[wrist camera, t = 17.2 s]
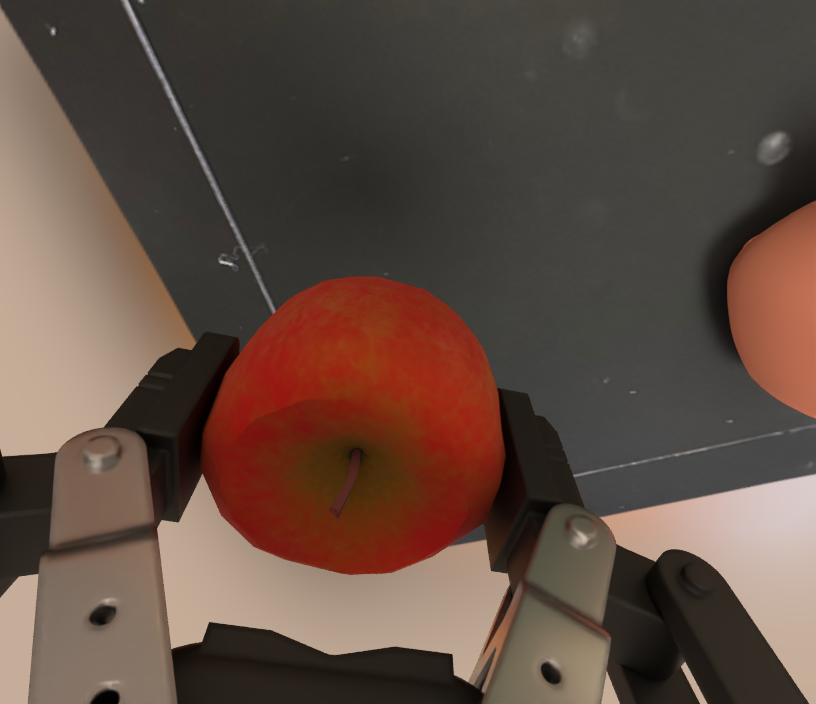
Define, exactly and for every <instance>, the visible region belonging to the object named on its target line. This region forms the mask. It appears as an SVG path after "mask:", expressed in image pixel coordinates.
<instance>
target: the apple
mask: <svg viewBox="0 0 816 704" xmlns="http://www.w3.org/2000/svg"><path fill="white" fill-rule="evenodd" d="M505 458H506V453H505V447H504V441H503V435H502V429H501V418H500V406H499V394H498V391H497V387H496V384H495V381H494V377H493V374H492V371H491V368H490V365H489V362H488V360H487V357H486V354H485V352H484V349H483V347H482V346H481V344H480V343H479V341H478V340H477V338H476V337H475V335H474V334H473V332H472V331H471V330H470V329H469V328H468V326H467V325H466V324H465V323H464V322H463V321H462V319H461V318H460V317H459V316H458V315H457V314H456V313H455V312H454V311H453V310H452V309H451V308H450V307H449V306H448V305H446V304H445V303H444V302H442V301H441V300H439V299H438V298H436V297H435V296H433V295H432V294H430V293H429V292H427V291H426V290H424V289H421V288H417V287H414V286H410V285H407V284H403V283H400V282H396V281H392V280H388V279H385V278H381V277H345V278H339V279H333V280H327V281H323V282H321V283H319V284H317V285H315V286H312V287H310V288H308V289H306V290H304V291H302V292H300V293H298V294H296V295H295V296H293V297H292V298H291V299H289V300H288V301H287V302H285V303H284V304H283V305H282V306H281V307H280V308H279V309H278V310H277V311H276V312H275V313H274V314H273V315H272V316H271V317H270V318H269V319H268V320H267V321H266V322H265V323H264V324H263V325H262V326H261V327H260V328H259V329H258V331H257V332H256V333H255V334H254V335H253V337H252V338H251V339H250V341H249V342H248V343H247V345H246V346H245V347H244V349H243V350H242V351H241V353H240V354H239V355H238V357H237V358H236V359H235V361H234V362H233V363H232V365H231V366H230V367H229V369H228V370H227V371H226V373H225V375H224V377H223V380H222V382H221V385H220V387H219V390H218V392H217V395H216V397H215V400H214V402H213V404H212V407H211V409H210V412H209V414H208V417H207V419H206V422H205V424H204V427H203V429H202V443H201V457H200V468H201V471H202V473H203V475H204V477H205V480H206V482H207V484H208V486H209V489H210V491H211V493H212V496H213V498H214V500H215V503H216V505H217V507H218V509H219V512H220V514H221V516H222V517H224V518H225V520H227V521H228V522H229V523H230V524H231V525H232V526H233V527H234V528H235V529H236V530H237V531H238V532H239V533H240V534H241V535H242V536H243V537H244V538H245V539H246V540H247V541H248V542H249V543H250V544H252V545H253V546H254V547H256V548H258V549H260V550H263V551H265V552H268V553H270V554H273V555H275V556H278V557H280V558H283V559H285V560H289V561H292V562H296V563H301V564H305V565H309V566H313V567H317V568H321V569H325V570H329V571H333V572H338V573H342V574H349V575H354V574H372V573H373V574H382V573H392V572H395V571H397V570H400V569H402V568H405V567H407V566H410V565H412V564H415V563H417V562H420V561H422V560H425V559H427V558H430V557H432V556H434V555H436V554H437V553H439V552H440V551H441V550H443V549H445V548H446V547H448V546H449V545H451V544H452V543H454V542H455V541H457V540H458V539H460V538H462V537H463V536H465V535H466V534H468V533H469V532H471V531H472V530H474V529H475V528H477V527H478V526H480V525H481V524H483V523H484V522H485V521H486V519H487V516H488V514H489V512H490V509H491V507H492V504H493V502H494V499H495V497H496V494H497V492H498V489H499V487H500V484H501V479H502V474H503V469H504V464H505Z"/></svg>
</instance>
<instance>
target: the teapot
mask: <svg viewBox="0 0 816 704" xmlns="http://www.w3.org/2000/svg"><path fill="white" fill-rule="evenodd" d="M727 303H728V313H729V321H730V327H731V332H732V336H733V339H734V342H735V345H736V348H737V351H738V353H739V355H740V358H741V360H742V362H743V364H744V366H745V368H746V370H747V371H748V373H749V375H750V377H751V378H752V379H753V380H754V381H755V382H756V383H757V384H759V385H760V386H761V387H762V388H763V389H764V390H765V391H767V392H768V393H769V394H771V395H772V396H773V397H775V398H776V399H778V400H780V401H781V402H783V403H784V404H786V405H788V406H790V407H792V408H794V409H796V410H798V411H800V412H802V413H804V414H806V415H808V416H810V417H813V418H815V419H816V201H813V202H811V203H809V204H807V205H805V206H804V207H802V208H800V209H798V210H796V211H795V212H793V213H791V214H790V215H788V216H786V217H785V218H783V219H782V220H780V221H778V222H777V223H775V224H774V225H772V226H771V227H769V228H768V229H766V230H765V231H763V232H762V233H761V234H759V235H757V236H755V237H753V238H752V239H751V240H749V241H748V242H747V243H746V244H745V246H744V247H743V249H742V250H741V251H740V252H739V254H738V255H737V257H736V258H735V259H734V261H733V263H732V265H731V267H730V271H729V276H728V281H727Z"/></svg>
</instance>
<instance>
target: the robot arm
mask: <svg viewBox="0 0 816 704" xmlns="http://www.w3.org/2000/svg"><path fill="white" fill-rule="evenodd" d="M239 346H240V344H239V339H238V338H237V337H232V336H227V335H221V334H216V333H211V332H205V333H204V334H203V335H202V336H201V338H200V339H199V341H198V342H197V343H196V345H195V346H194V348H193V349H192V350H187V349H181V348H177V349H175V350H173V351H171V352H169V353H168V354H166V355H164V356H162V357H160V358H159V359H158V360H157V361H156V363H155V364H154V365H153V367H152V368H151V369H150V370H149V372H148V375H145V376H144V378H143V379H142V380H141V381H140V383H139V386H138V387H136V388H135V389H134V390H133V392H132V393H131V394H130V395H129V396H128V398H127V399H126V400H125V401H124V403H123V404H122V405H121V406H120V408H119V409H118V410H117V411H116V413H115V414H114V415H113V416H112V418H111V419H110V420H109V421H108V423H107V424H106V425H105V427H104V428H98V429H93V430H89V431H86V432H83V433H81V434H79V435H77V436H75V437H73V438H71V439H70V440H68V441H67V442H66V443H65V444H64V445H63V446H62V447H61V448H60V449H59V451H58V452H55V453H48V454H36V455H19V456H4V457H2V454H1V450H0V597H1V596H2V595H3V594H4V593H5V592H6V590H7V589H8V588H9V587H10V586H11V585H12V583H13V582H14V581H15V580H16V579H17V578H18V577H19V576H26V575H33V574H39V576H38V588H37V600H36V612H35V624H34V636H33V648H32V661H31V672H30V684H29V696H28V704H601V701H602V694H603V689H604V683H605V677H606V671H607V672H608V675H609V677H610V680H611V682H612V685H613V687H614V690H615V692H616V695H617V697H618V700H619V702H620V704H700V703H699V701H698V699H697V697H696V695H695V693H694V692H693V689H692V688H691V686H690V684H689V682H688V680H687V678H686V676H685V674H684V672H683V670H682V668H681V666H682V664H683V663H684V662H686V664H687V666H688V668H689V669H690V671H691V673H692V675H693V677H694V679H695V681H696V683H697V685H698V686H699V688H700V690H701V692H702V694H703V696H704V698H705V700H706V701H707V703H708V704H809V703H808V701H807V700H806V698H805V697H804V695H803V694H802V693H801V691H800V690H799V688H798V687H797V685H796V684H795V683H794V681H793V679H792V678H791V676H790V675H789V673H788V672H787V670H786V669H785V668H784V666H783V664H782V663H781V662H780V660H779V659H778V657H777V656H776V654H775V653H774V651H773V650H772V648H771V647H770V645H769V644H768V642H767V641H766V640H765V638H764V637H763V635H762V634H761V632H760V631H759V629H758V628H757V626H756V625H755V623H754V622H753V620H752V619H751V617H750V616H749V614H748V613H747V611H746V610H745V608H744V607H743V605H742V604H741V603H740V601H739V600H738V598H737V597H736V595H735V594H734V592H733V591H732V590H731V588H730V586H729V585H728V583H727V582H726V581H725V579H724V578H723V577H722V576H721V575H720V573H719V572H718V571H716V569H714V568H713V567H712V566H711V565H710V564H708V563H707V562H706V561H704V560H703V559H701V558H700V557H697V556H696V555H694V554H691V553H689V552H686V551H683V550H677V549H671V550H667V551H665V552H663V553H662V555H661V556H660V557H659V558H658V560H657V561H656V562H655V561H653V560H650V559H648V558H646V557H643V556H641V555H638V554H637V553H634V552H632V551H629V550H627V549H625V548H623V547H621V546H619V545H617V544H616V540H615V538H614V535H613V533H612V531H611V530H610V528H609V527H608V526H607V525H606V524H605V522H604V521H603V520H602V519H601V518H599V517H598V516H597V515H596V514H594V513H593V512H591V511H589V510H588V509H585V507H584V504H583V501H582V499H581V496H580V493H579V490H578V488H577V485H576V482H575V480H574V477H573V474H572V471H571V469H570V466H569V464H567V461H568V460H567V458H566V455H565V452H564V451H562V449H563V447H562V444H561V441H560V439H559V436H558V433H557V431H556V430H555V429H554V428H553V427H552V426H551V424H550V423H549V422H548V421H547V420H546V418H545V417H542V416H536V415H535V414H534V411H533V408H532V405H531V402H530V398H529V396H528V394H526V393H521V392H516V391H511V390H505V389H500V388H498V389H497V391H498V394H499V406H500V418H501V429H502V435H503V441H504V447H505V453H506V458H505V464H504V469H503V474H502V479H501V484H500V487H499V489H498V492H497V494H496V497H495V499H494V502H493V504H492V507H491V509H490V512H489V514H488V516H487V519H486V521H485V522H484V526H485V533H486V540H487V547H488V554H489V560H490V567H491V571H494V572H501V573H508V576H509V581H510V585H509V587H508V589H507V591H506V593H505V595H504V597H503V600H502V602H501V605H500V607H499V610H498V612H497V615H496V617H495V619H494V622H493V625H492V627H491V629H490V632H489V634H488V637H487V639H486V642H485V644H484V647H483V649H482V652H481V654H480V657H479V659H478V662H477V664H476V666H475V669H474V671H473V673H472V676H471V677H470V680H469V682H466V681H465V680H463V679H461V678H459V677H457V676H455V675H454V671H453V655H452V654H447V653H439V652H432V651H424V650H417V649H409V648H401V647H389V648H382V649H376V650H368V651H362V652H355V653H348V654H341V655H329V654H326V653H324V652H321V651H319V650H317V649H314V648H312V647H309V646H307V645H305V644H302V643H300V642H297V641H295V640H293V639H290V638H288V637H286V636H283V635H281V634H279V633H276V632H274V631H271V630H265V629H257V628H249V627H242V626H235V625H227V624H219V623H212V622H209V624H208V627H207V630H206V633H205V635H204V638H203V641H202V642H199V643H193V644H188V645H184V646H180V647H177V648H173V649H171V644H170V635H169V626H168V618H167V610H166V601H165V592H164V584H163V576H162V567H161V558H160V550H159V542H158V533H157V528H158V526H159V524H160V522H161V520H166V521H172V522H179V521H180V519H181V517H182V514H183V512H184V510H185V508H186V506H187V504H188V502H189V500H190V498H191V496H192V494H193V492H194V490H195V488H196V486H197V483H198V482H199V480H200V477H201V475H202V471H201V468H200V457H201V443H202V429H203V427H204V424H205V422H206V419H207V417H208V414H209V412H210V409H211V407H212V404H213V402H214V400H215V397H216V395H217V392H218V390H219V387H220V385H221V382H222V380H223V377H224V375H225V373H226V371H227V370H228V369H229V367H230V366H231V365H232V363H233V362H234V361H235V359H236V358H237V357H238V355H239Z"/></svg>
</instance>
